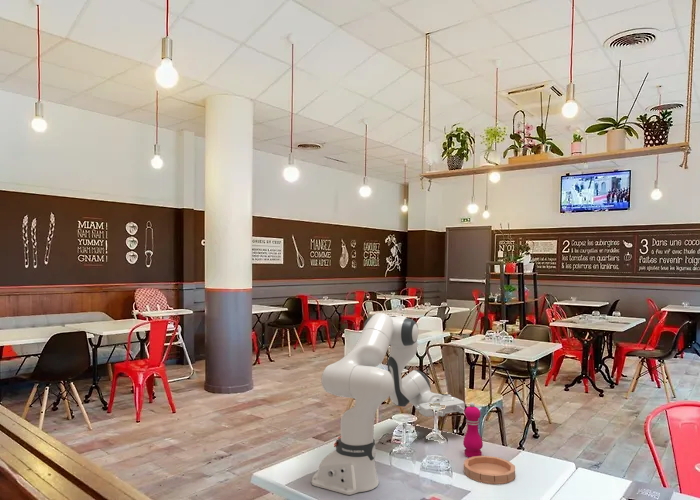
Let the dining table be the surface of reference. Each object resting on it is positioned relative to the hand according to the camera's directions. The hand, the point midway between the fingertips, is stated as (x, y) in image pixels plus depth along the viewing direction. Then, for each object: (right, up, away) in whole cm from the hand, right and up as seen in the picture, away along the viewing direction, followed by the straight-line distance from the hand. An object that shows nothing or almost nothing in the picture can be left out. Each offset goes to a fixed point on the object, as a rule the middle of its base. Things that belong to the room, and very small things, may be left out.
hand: (453, 412), depth 198 cm
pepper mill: (+5, -13, -12) cm, 18 cm away
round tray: (+7, -12, -28) cm, 31 cm away
